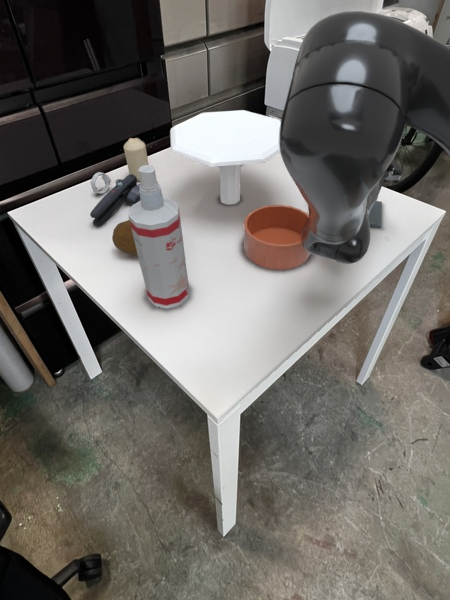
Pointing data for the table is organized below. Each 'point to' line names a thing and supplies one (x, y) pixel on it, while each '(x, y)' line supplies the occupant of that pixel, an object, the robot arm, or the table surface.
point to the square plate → (376, 215)
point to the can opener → (116, 198)
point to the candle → (135, 155)
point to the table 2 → (227, 144)
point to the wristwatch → (106, 180)
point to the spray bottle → (159, 243)
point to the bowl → (275, 237)
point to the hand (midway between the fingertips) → (376, 152)
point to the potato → (124, 238)
